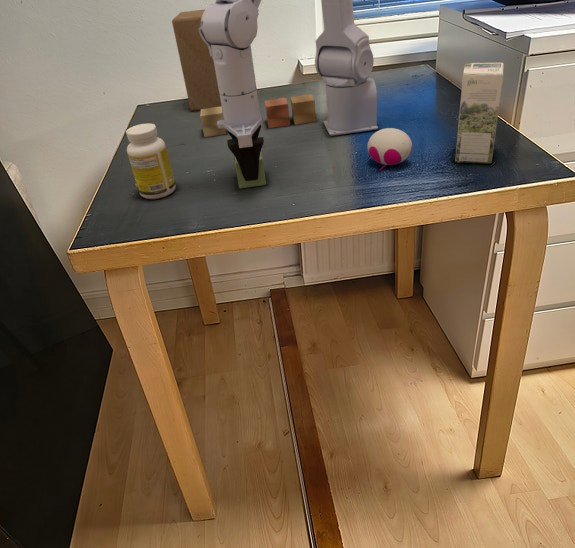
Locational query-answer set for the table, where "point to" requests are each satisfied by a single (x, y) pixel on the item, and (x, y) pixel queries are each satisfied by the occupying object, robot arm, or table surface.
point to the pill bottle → (150, 162)
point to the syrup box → (479, 112)
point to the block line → (274, 111)
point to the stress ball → (389, 146)
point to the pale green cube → (252, 183)
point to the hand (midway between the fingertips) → (250, 173)
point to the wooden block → (196, 62)
